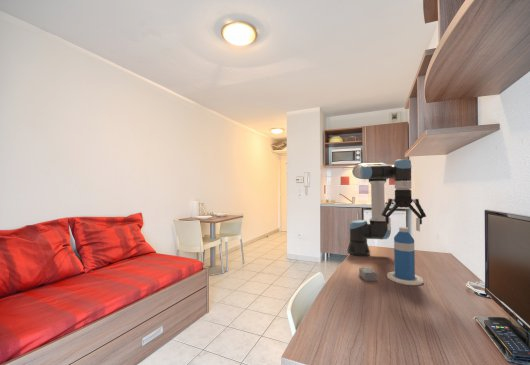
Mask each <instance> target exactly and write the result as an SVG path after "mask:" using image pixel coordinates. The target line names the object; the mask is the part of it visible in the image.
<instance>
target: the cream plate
mask: <svg viewBox="0 0 530 365" xmlns="http://www.w3.org/2000/svg"><path fill="white" fill-rule="evenodd" d="M386 278H388V280H390V281H392V282H393V283H397V284H400V285H405V286H420V285H421V286H422V285H423V283H424V278H423V277H422V276H419V275H417V274H415V279H413V280H405V279H400V278H398V277H395V270H394V271H389V272H387V273H386Z"/></svg>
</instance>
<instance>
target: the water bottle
mask: <svg viewBox="0 0 530 365" xmlns="http://www.w3.org/2000/svg"><path fill="white" fill-rule="evenodd" d="M398 229H399V231H398V232H397V233H396V234H395V236H394V238H393V248H394V250H393V251H394V254H393V255H394V256H393V257H394V259H393V260H394V271H395V277H398V278H400V279H405V280H413V279H415V275H416V270H415V269H416V268H415V267H416V266H415V264H416V262H415V261H416V259H415V256H416V255H415V239H414V237H413V236H412V235H411V234H410V232H409V227H407V226H405V227H404V226H400V227H399V228H398Z"/></svg>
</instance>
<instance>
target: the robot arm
mask: <svg viewBox="0 0 530 365" xmlns="http://www.w3.org/2000/svg"><path fill="white" fill-rule="evenodd" d="M352 175H353V177H355V178H356V179H360V180H368V183H370V195H371V196H370V197H371V199H370V200H371V201H370V202H371V204H370V205H371V217H370V218H369V222H368V221H367V220H366V219H359V220H358V219H357V220H352V221H351V222H350V223H349V242H348V246H347V250H346V251H347V254H349V255H352V256H357V257H359V256H360V257H366V256H370V255H371V250H370V248H369V245H368V240H388V239H389V237H390V236H391V233H392V232H391V230H392V226H391V225H392V224H391V220H392V219H391V217H390V216H391V215H393V213H394V212H395V211H396V210H397V209H398V208H408V209H410V210H411V212H413V214H414V215H415V216H416V217H415V231H417V232H421V225H422V224H423V218H426V217H427V214H426V213H425V211H424V209H423V207H422V206H421V204H420V200H419V198H412V190H411V189H412V161H411V159H409V158H408V159H407V158H406V159H405V158H401V159H396V160H394V163H393V164H386V163H385V162H371V163H370V162H368V163H367V162H366V163H358V164H356V165H355V166H353V168H352ZM389 179H392V180H393V179H394V189H395V190H394V198H388V199H387V203H386V202H385V183H387V180H389ZM393 202H394V205H393V206H392V204H393ZM385 203H386V205H385ZM412 203H413V204H414V205H415V206H416V208H417V209H415V207H414V205H412ZM390 207H391V209H390ZM389 209H390V210H389Z"/></svg>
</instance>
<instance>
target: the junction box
mask: <svg viewBox="0 0 530 365" xmlns="http://www.w3.org/2000/svg"><path fill="white" fill-rule="evenodd" d="M358 275H359V276H360V277H361V279H363V281H365V282H377V281H378V273H377V272H376V271H375V270H374V269H373V268H371V267H362V266H361V267H359V272H358Z"/></svg>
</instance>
